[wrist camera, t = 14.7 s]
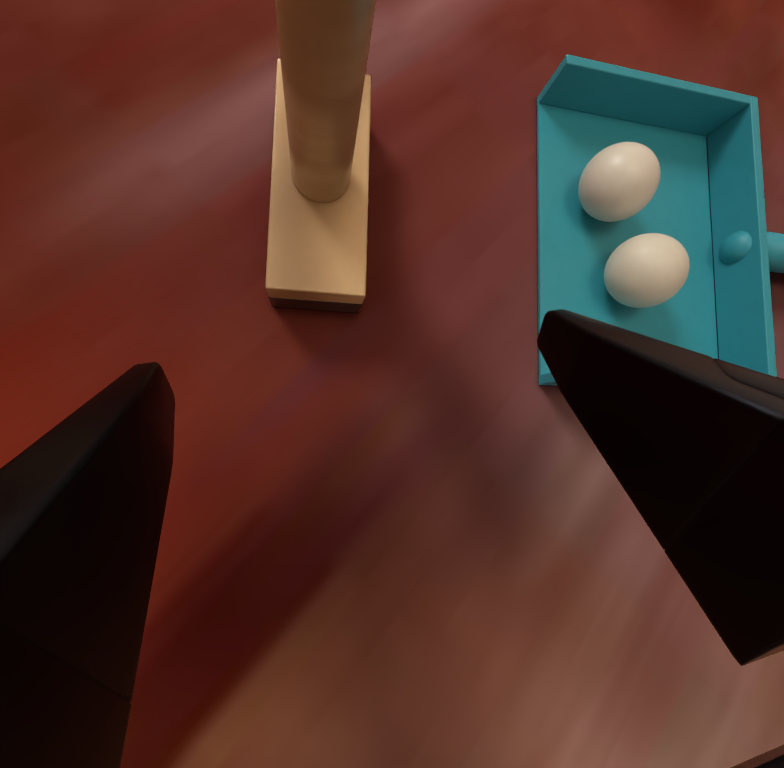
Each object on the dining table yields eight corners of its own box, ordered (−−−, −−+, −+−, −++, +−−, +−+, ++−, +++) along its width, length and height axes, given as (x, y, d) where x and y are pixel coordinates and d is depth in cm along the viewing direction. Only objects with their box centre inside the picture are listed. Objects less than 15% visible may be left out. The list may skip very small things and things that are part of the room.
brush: (364, 118, 20) (458, -466, 7) (359, 313, 19) (458, 65, 6) (282, 105, 19) (210, -581, 6) (272, 307, 18) (160, 6, 5)
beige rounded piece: (603, 300, 23) (679, 296, 21) (602, 318, 20) (691, 314, 18) (605, 234, 21) (687, 224, 20) (604, 243, 19) (700, 231, 17)
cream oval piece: (624, 219, 22) (689, 186, 19) (580, 242, 21) (639, 212, 18) (599, 159, 22) (660, 114, 19) (552, 180, 21) (608, 137, 18)
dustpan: (538, 384, 20) (571, 379, 18) (536, 97, 22) (566, 53, 19) (820, 400, 24) (884, 397, 21) (800, 150, 25) (856, 119, 23)
